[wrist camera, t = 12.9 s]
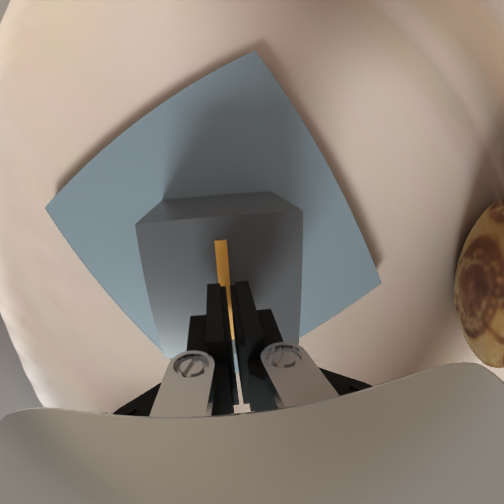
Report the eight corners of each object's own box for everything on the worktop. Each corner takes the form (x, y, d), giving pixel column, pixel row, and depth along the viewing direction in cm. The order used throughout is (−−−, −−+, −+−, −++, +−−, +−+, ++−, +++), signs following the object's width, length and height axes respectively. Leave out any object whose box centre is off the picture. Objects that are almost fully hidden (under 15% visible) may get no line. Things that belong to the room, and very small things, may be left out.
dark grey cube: (271, 191, 17) (303, 210, 11) (273, 289, 20) (299, 346, 14) (162, 200, 17) (134, 224, 10) (176, 298, 19) (164, 359, 13)
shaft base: (372, 275, 23) (412, 308, 17) (203, 377, 24) (204, 427, 18) (252, 57, 16) (268, 21, 10) (54, 203, 17) (8, 223, 11)
